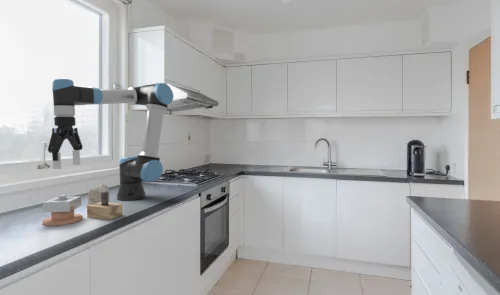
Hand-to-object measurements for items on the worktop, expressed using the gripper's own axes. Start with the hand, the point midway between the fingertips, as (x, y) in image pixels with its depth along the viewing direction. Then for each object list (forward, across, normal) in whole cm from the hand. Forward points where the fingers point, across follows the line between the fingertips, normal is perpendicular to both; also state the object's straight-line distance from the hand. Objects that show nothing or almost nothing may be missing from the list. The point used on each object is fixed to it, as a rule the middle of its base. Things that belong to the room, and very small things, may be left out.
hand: (67, 166), depth 126 cm
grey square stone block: (+17, +4, 0) cm, 17 cm away
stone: (+23, -16, +5) cm, 28 cm away
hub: (+22, +4, 0) cm, 22 cm away
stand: (+22, -2, +14) cm, 26 cm away
